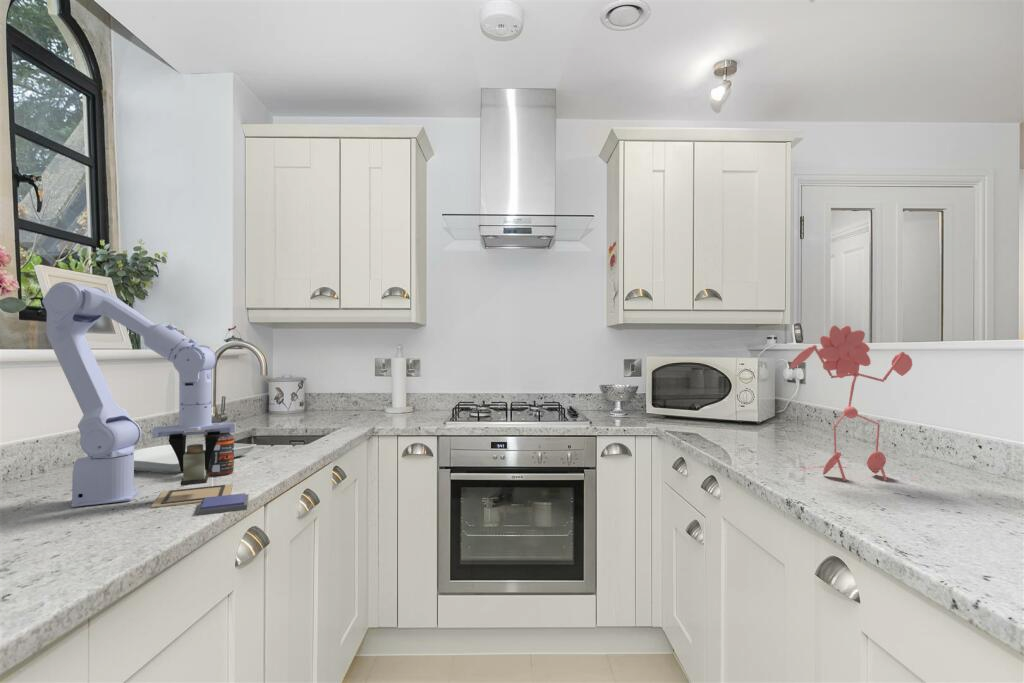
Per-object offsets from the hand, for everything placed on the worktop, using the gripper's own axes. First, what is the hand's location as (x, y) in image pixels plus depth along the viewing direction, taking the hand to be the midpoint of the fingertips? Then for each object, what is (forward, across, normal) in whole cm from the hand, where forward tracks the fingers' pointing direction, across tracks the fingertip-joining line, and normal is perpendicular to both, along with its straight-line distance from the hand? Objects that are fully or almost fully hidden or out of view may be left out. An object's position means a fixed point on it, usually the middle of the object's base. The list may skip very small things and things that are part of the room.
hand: (195, 469), depth 106 cm
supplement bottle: (+6, +3, +20) cm, 21 cm away
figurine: (+6, +136, -49) cm, 145 cm away
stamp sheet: (+5, 0, 0) cm, 5 cm away
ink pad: (+5, +6, -11) cm, 14 cm away
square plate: (+6, -8, +40) cm, 41 cm away
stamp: (+2, 0, -1) cm, 2 cm away
